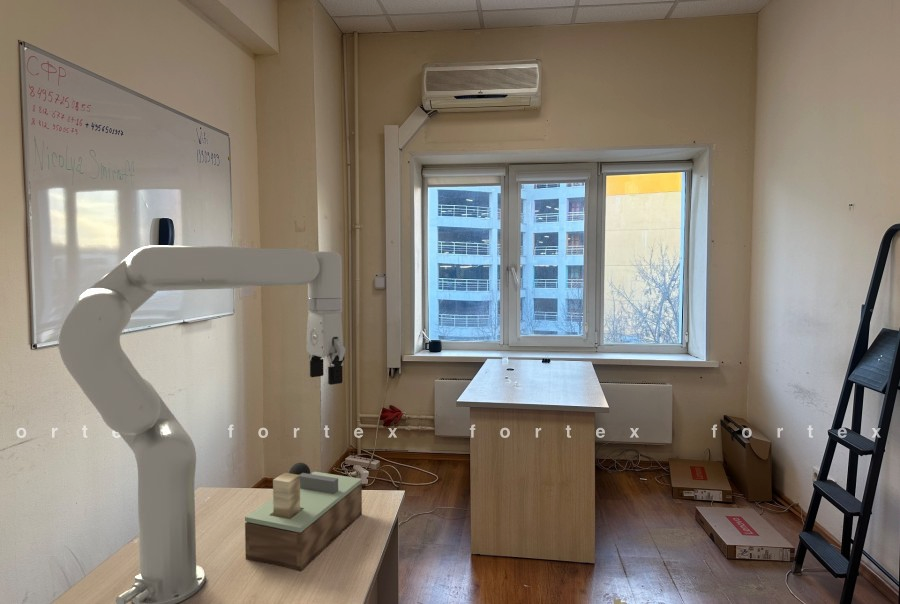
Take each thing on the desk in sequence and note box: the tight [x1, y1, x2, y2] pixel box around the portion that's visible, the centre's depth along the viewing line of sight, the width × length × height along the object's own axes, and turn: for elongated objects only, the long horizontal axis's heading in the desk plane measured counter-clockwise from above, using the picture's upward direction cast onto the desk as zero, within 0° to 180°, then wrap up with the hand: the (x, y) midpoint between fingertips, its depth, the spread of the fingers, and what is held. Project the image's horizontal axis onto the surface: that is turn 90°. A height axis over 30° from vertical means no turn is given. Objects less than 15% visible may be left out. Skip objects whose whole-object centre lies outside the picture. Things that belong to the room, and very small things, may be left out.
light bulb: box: [288, 462, 311, 475], centre depth 136 cm, size 6×6×10 cm
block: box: [272, 472, 300, 519], centre depth 110 cm, size 4×4×12 cm
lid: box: [244, 471, 363, 533], centre depth 117 cm, size 26×14×4 cm, turn 162°
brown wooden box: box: [244, 483, 363, 572], centre depth 118 cm, size 26×14×8 cm, turn 162°
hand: (325, 379), depth 115 cm, fingers open, 9 cm apart
